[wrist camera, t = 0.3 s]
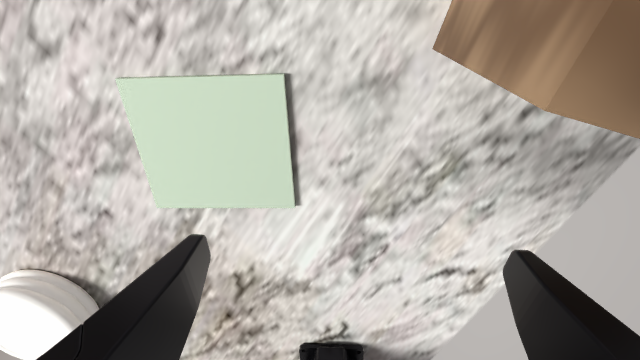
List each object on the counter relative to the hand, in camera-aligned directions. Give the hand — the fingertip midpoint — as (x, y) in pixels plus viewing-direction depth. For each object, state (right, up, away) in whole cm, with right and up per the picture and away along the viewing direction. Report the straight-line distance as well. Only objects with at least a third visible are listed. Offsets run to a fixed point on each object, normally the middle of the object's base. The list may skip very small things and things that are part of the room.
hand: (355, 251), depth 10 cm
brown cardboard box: (+9, +11, +10) cm, 17 cm away
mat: (-9, +5, +14) cm, 17 cm away
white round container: (-28, -10, +24) cm, 38 cm away
